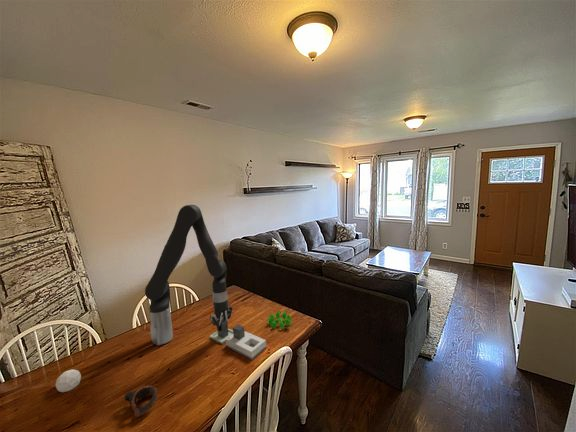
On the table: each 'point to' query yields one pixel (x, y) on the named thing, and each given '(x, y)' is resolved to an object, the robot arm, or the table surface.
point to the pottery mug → (139, 395)
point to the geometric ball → (68, 380)
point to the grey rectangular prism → (223, 329)
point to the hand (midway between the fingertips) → (222, 329)
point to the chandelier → (279, 320)
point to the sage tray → (220, 339)
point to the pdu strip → (245, 342)
